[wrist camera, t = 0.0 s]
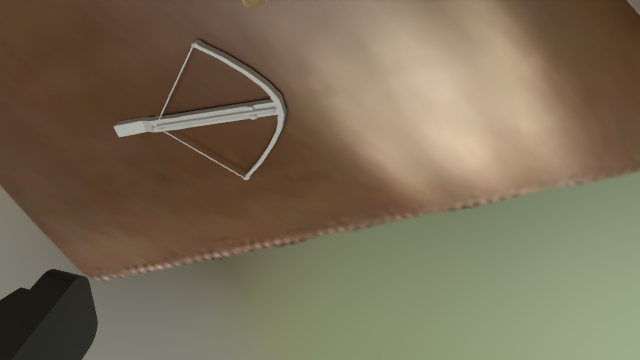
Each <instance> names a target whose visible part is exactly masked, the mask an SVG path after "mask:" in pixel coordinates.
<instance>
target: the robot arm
mask: <svg viewBox="0 0 640 360" xmlns="http://www.w3.org/2000/svg"><path fill="white" fill-rule="evenodd" d="M97 325H98V322H97V315H96V311H95V306H94V302H93V297H92V293H91V288H90V284H89V280H88V279H87V278H86V277H85V276H81V275H76V274H72V273H68V272H64V271H60V270H56V269H52V270H49V271H47V272H46V273H44V274H43V275H42V276H41V278H40V279H39V280H38V281H37V282H36V283H35V284H34V285H33V287H32V288H31V289H30V290H29V289H25V288H19V289H17V290H16V291H14V292H13V293H11V294H9V295H8V296H6V297H5V298H3V299H1V300H0V360H82V358H83V357H84V355H85V354H86V352H87V351H88V349H89V348H90V346H91V344H92V342H93V340H94V338H95V334H96V331H97Z"/></svg>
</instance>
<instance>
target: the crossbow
mask: <svg viewBox="0 0 640 360" xmlns="http://www.w3.org/2000/svg"><path fill="white" fill-rule="evenodd" d="M191 45H192V47H191V49H190V52H189V54H188V56H187V58H186V60H185V63H184V65H183V67H182V69H181V71H180V73H179V76H178V78H177V80H176V82H175V84H174V87H173V89H172V91H171V93H170V95H169V97H168V100H167V102H166V104H165V106H164V108H163V111H164V109H165V107H166V105H167V103H168V101H169V98H170V96H171V94H172V92H173V90H174V88H175V85H176V83H177V81H178V79H179V77H180V74H181V72H182V70H183V68H184V66H185V64H186V61H187V59H188V57H189V55H190V53H191V51H192V48H193V47H194V48H197V49H199V50H201V51H203V52H205V53H208V54H210V55H212V56H214V57H216V58H218V59H220V60H222V61H223V62H225V63H227V64H228V65H230V66H232V67H233V68H235V69H237V70H238V71H240V72H242V73H243V74H245V75H246V76H247V77H249V78H250V79H251V80H253V81H254V82H256V83H257V84H258V85H260V86H261V87H262V88H263V89H264V90H265V91H266V92H267V93H268V94H269V96H270V98H271V99H268V100H261V101H255V102H248V103H242V104H236V105H229V106H223V107H217V108H210V109H204V110H197V111H191V112H185V113H178V114H172V115H166V116H162V114H163V111H162V113H161V115H160V116H159V115H156V116H155V117H143V118H136V119H130V120H124V121H119V122H118V123H117V124H116V125H114V126H113V127H114V128H115V130H116V132H117V134H118V136H119V137H122V136H127V135H133V134H138V133H143V132H161V131H163V132H165V133H167V132H166V131H168V130H178V129H185V128H188V127H195V126H202V125H209V124H216V123H223V122H229V121H236V120H243V119H250V118H251V120H253V119H257V117H263V116H270V115H277V114H278V125H277V130H276V132H275V134H274V136H273V138H272V140H271V142H270V144H269V146H268V147H267V149H266V150H265V152H264V153H263V155H262V156H261V157H260V159H259V160H258V161H257V162H256V163H255V164H254V166H253V167H252V168H251V169H250V170H249V171H248V172H247V174H246V176H245V177H243V176H241V175H240V174H238V173H236V172H235V171H233V170H231V169H229V168H228V167H226V166H224V165H223V164H221V163H219V162H217V161H216V160H214V159H212V158H210V157H209V156H207V155H205V154H204V153H202V152H200V151H198V150H197V149H195V148H193V147H192V146H190V145H188V144H186V143H185V142H183V141H181V140H179V139H178V138H176V137H174V136H173V135H171V134H169V133H167V134H168V135H170V136H172V137H174V138H175V139H177V140H179V141H180V142H182V143H184V144H186V145H187V146H189V147H191V148H192V149H194V150H196V151H198V152H199V153H201V154H203V155H205V156H206V157H208V158H210V159H211V160H213V161H215V162H217V163H218V164H220V165H222V166H224V167H225V168H227V169H229V170H230V171H232V172H234V173H236V174H237V175H239V176H241V177H242V178H244V180H248V179H249V178H250V176H251V174H252V173H253V172H254V171H255V170H256V169H257V168H258V167H259V165H260V164H261V163H262V162H263V160H264V159H265V158H266V156H267V155H268V153H269V152H270V150H271V149H272V147H273V146H274V144H275V142H276V140H277V138H278V136H279V134H280V132H281V130H282V128H283V126H284V122H285V117H286V113H287V109H286V107H285V104H284V101H283V98H282V97H283V96H282V95H281V94H280V92H278V91H277V90H276V89H275V88H274V86H273V85H272V84H271V83H270V82H269V81H267V80H266V79H265V78H263V77H262V76H260V75H259V74H258V73H256V72H255V71H254V70H252V69H251V68H249V67H248V66H246V65H244V64H243V63H241V62H239V61H238V60H236V59H234V58H233V57H231V56H229V55H228V54H226V53H224V52H221V51H219V50H217V49H215V48H213V47H211V46H209V45H207V44H205V43H203V42H202V41H201V40H196V41H194V42H193V43H192V44H191Z"/></svg>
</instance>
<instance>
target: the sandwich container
mask: <svg viewBox="0 0 640 360" xmlns="http://www.w3.org/2000/svg"><path fill="white" fill-rule="evenodd" d="M266 1H268V0H242V3H243V5H244V6H245V7H248V8H253V7H255V6H257V5H259V4H261V3H263V2H266Z"/></svg>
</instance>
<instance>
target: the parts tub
mask: <svg viewBox="0 0 640 360" xmlns="http://www.w3.org/2000/svg"><path fill="white" fill-rule="evenodd" d="M627 1H628V3H629V4H630V5H631V6H632V7H633V8H634V9H635V11H636V12H637V13H638V14H639V15H640V0H627Z"/></svg>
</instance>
